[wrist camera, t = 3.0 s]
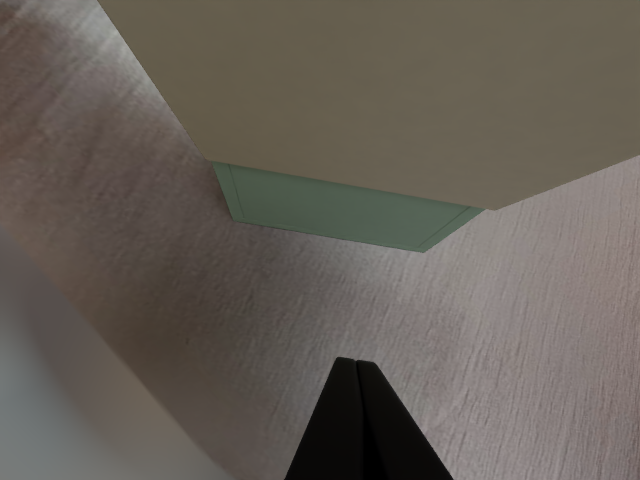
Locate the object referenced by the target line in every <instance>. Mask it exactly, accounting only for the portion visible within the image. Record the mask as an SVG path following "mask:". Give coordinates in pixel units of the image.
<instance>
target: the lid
mask: <svg viewBox="0 0 640 480" xmlns="http://www.w3.org/2000/svg"><path fill="white" fill-rule="evenodd" d="M97 1H98V2H99V4H100V5H101V7H102V8H103V9H104V11H105V12H106V14H107V15H108V17H109V18H110V20H111V21H112V23H113V24H114V26H115V27H116V29H117V30H118V32H119V33H120V35H121V36H122V37H123V39H124V40H125V42H126V43H127V45H128V46H129V48H130V49H131V51H132V52H133V54H134V55H135V57H136V58H137V60H138V61H139V62H140V64H141V65H142V67H143V68H144V70H145V71H146V73H147V74H148V76H149V77H150V79H151V80H152V82H153V83H154V85H155V86H156V88H157V89H158V90H159V92H160V93H161V95H162V96H163V98H164V99H165V101H166V102H167V104H168V105H169V107H170V108H171V110H172V111H173V113H174V114H175V115H176V117H177V118H178V120H179V121H180V123H181V124H182V126H183V127H184V129H185V130H186V132H187V133H188V135H189V136H190V138H191V139H192V141H193V142H194V143H195V145H196V146H197V148H198V149H199V151H200V152H201V154H202V155H203V157H204V158H205V159H206V160H210V161H216V162H222V163H227V164H233V165H239V166H244V167H250V168H256V169H261V170H267V171H273V172H278V173H284V174H290V175H295V176H301V177H307V178H313V179H318V180H324V181H330V182H335V183H341V184H347V185H352V186H358V187H364V188H369V189H375V190H381V191H386V192H392V193H398V194H404V195H409V196H415V197H421V198H426V199H432V200H438V201H443V202H449V203H455V204H460V205H466V206H472V207H477V208H483V209H489V210H498V209H501V208H503V207H506V206H508V205H511V204H514V203H516V202H519V201H521V200H524V199H527V198H529V197H532V196H534V195H537V194H540V193H542V192H545V191H547V190H550V189H553V188H555V187H558V186H560V185H563V184H566V183H568V182H571V181H573V180H576V179H579V178H581V177H584V176H586V175H589V174H591V173H594V172H597V171H599V170H602V169H604V168H607V167H610V166H612V165H615V164H617V163H620V162H623V161H625V160H628V159H630V158H633V157H636V156H638V155H640V0H97Z"/></svg>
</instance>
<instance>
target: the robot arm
mask: <svg viewBox="0 0 640 480" xmlns="http://www.w3.org/2000/svg"><path fill="white" fill-rule="evenodd" d="M284 480H454V479H453V478H452V476H451V475H450V473H449V472H448V470H447V469H446V467H445V466H444V464H443V463H442V461H441V460H440V458H439V457H438V455H437V454H436V452H435V451H434V449H433V448H432V446H431V445H430V444H429V442H428V441H427V439H426V438H425V436H424V435H423V433H422V432H421V430H420V429H419V427H418V426H417V424H416V423H415V421H414V420H413V418H412V417H411V415H410V414H409V412H408V411H407V409H406V408H405V406H404V405H403V403H402V402H401V400H400V399H399V397H398V396H397V394H396V393H395V391H394V390H393V388H392V387H391V385H390V384H389V382H388V381H387V379H386V378H385V376H384V375H383V373H382V372H381V370H380V369H379V367H378V366H377V364H375V363H374V362H370V361H364V360H357V361H355V360H354V359H350V358H344V357H337V358H336V360H335V362H334V364H333V367H332V369H331V371H330V374H329V376H328V378H327V381H326V383H325V385H324V388H323V390H322V392H321V395H320V397H319V399H318V402H317V404H316V406H315V409H314V411H313V414H312V416H311V418H310V421H309V423H308V425H307V428H306V430H305V432H304V435H303V437H302V439H301V442H300V444H299V446H298V449H297V451H296V453H295V456H294V458H293V460H292V463H291V465H290V467H289V470H288V472H287V475H286V477H285V479H284Z"/></svg>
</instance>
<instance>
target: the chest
mask: <svg viewBox="0 0 640 480" xmlns="http://www.w3.org/2000/svg"><path fill="white" fill-rule="evenodd" d="M211 162H212V165H213V168H214V170H215V173H216V176H217V178H218V181H219V184H220V186H221V189H222V192H223V195H224V197H225V200H226V203H227V205H228V208H229V211H230V213H231V216H232V219H233V221H237V222H243V223H249V224H255V225H261V226H267V227H273V228H279V229H285V230H291V231H297V232H303V233H309V234H315V235H321V236H327V237H333V238H339V239H345V240H351V241H357V242H363V243H369V244H374V245H380V246H386V247H392V248H398V249H404V250H410V251H416V252H422V253H424V252H426V251H427V250H428V249H430V248H432V247H433V246H434V245H436V244H437V243H439V242H440V241H441V240H443V239H444V238H446V237H447V236H448V235H450V234H451V233H453V232H454V231H456V230H457V229H458V228H460V227H461V226H463V225H464V224H465V223H467V222H468V221H470V220H471V219H473V218H474V217H475V216H477V215H478V214H480V213H481V212H482V211H484V210H485V209H483V208H477V207H472V206H466V205H460V204H455V203H449V202H443V201H438V200H432V199H426V198H421V197H415V196H409V195H404V194H398V193H392V192H386V191H381V190H375V189H369V188H364V187H358V186H352V185H347V184H341V183H335V182H330V181H324V180H318V179H313V178H307V177H301V176H295V175H290V174H284V173H278V172H273V171H267V170H261V169H256V168H250V167H244V166H239V165H233V164H227V163H222V162H216V161H211Z"/></svg>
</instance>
